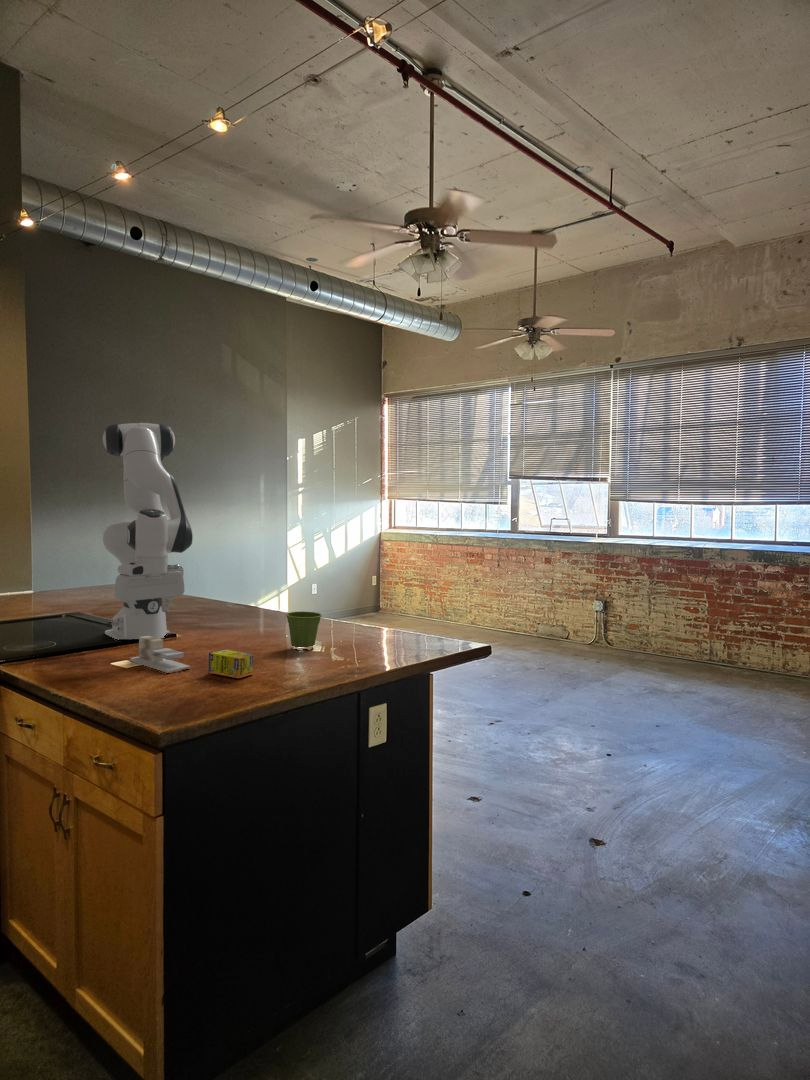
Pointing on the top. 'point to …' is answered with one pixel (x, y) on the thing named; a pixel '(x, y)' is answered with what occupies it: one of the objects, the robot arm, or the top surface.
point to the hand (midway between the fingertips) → (150, 613)
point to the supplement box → (230, 662)
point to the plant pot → (303, 628)
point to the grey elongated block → (156, 650)
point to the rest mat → (160, 664)
